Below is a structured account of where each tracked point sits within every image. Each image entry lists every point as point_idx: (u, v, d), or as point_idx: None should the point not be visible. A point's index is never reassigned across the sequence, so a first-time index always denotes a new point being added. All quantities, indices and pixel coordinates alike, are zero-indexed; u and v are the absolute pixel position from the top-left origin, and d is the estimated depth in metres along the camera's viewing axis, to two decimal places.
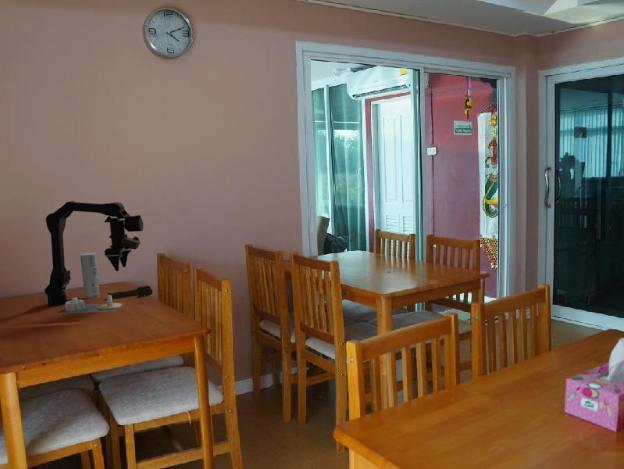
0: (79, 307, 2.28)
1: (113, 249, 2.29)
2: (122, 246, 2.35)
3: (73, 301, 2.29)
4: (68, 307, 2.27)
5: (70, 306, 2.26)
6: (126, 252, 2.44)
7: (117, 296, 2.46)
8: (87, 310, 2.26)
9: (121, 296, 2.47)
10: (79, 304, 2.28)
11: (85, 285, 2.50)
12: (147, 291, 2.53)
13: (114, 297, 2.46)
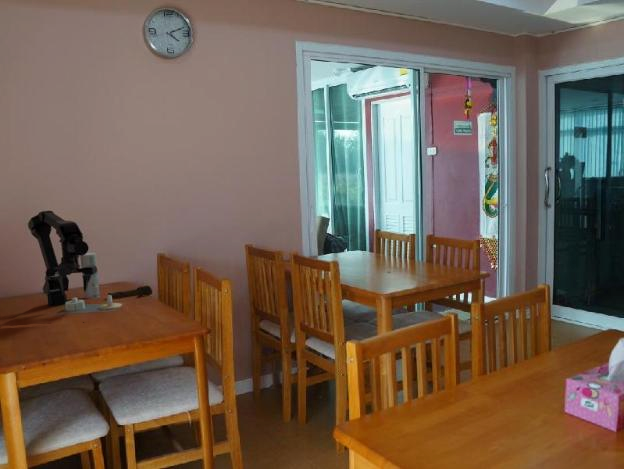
0: (79, 307, 2.28)
1: None
2: None
3: (73, 301, 2.29)
4: (68, 307, 2.27)
5: (70, 306, 2.26)
6: None
7: (117, 296, 2.46)
8: (87, 310, 2.26)
9: (121, 296, 2.47)
10: (79, 304, 2.28)
11: None
12: (147, 291, 2.53)
13: (114, 297, 2.46)
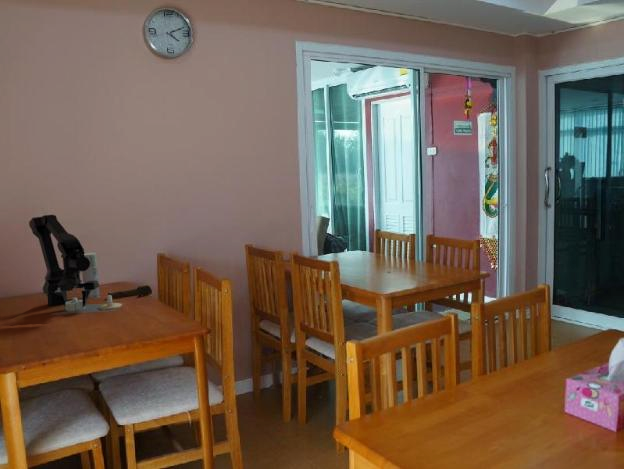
0: (79, 307, 2.28)
1: (49, 285, 2.28)
2: None
3: (73, 301, 2.29)
4: (68, 307, 2.27)
5: (70, 306, 2.26)
6: None
7: (117, 296, 2.46)
8: (87, 310, 2.26)
9: (121, 296, 2.47)
10: (79, 304, 2.28)
11: None
12: (146, 291, 2.54)
13: (114, 297, 2.46)
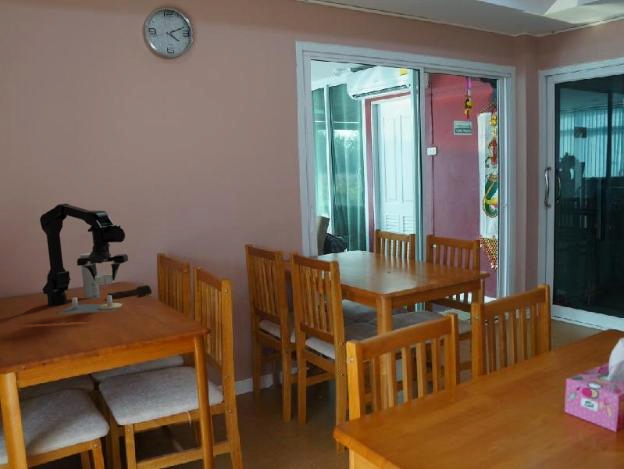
0: (109, 280, 2.26)
1: None
2: None
3: (73, 301, 2.29)
4: (98, 280, 2.25)
5: (100, 279, 2.25)
6: None
7: (117, 296, 2.46)
8: (87, 310, 2.26)
9: (121, 296, 2.47)
10: (109, 277, 2.26)
11: (85, 285, 2.50)
12: (146, 291, 2.54)
13: (114, 297, 2.45)
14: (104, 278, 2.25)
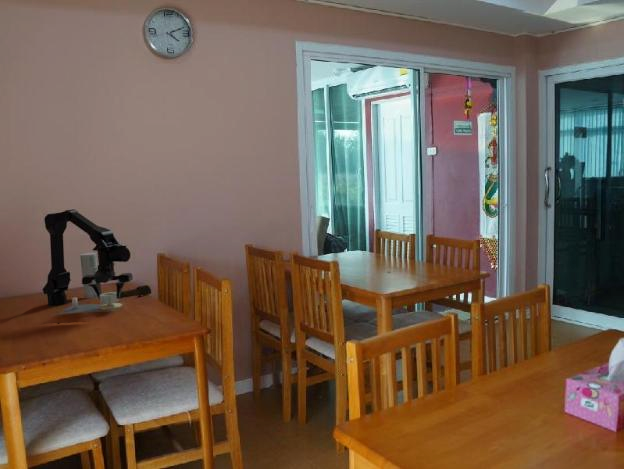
0: (113, 299, 2.28)
1: (83, 277, 2.28)
2: None
3: (73, 301, 2.29)
4: (102, 299, 2.27)
5: (105, 298, 2.26)
6: None
7: None
8: (87, 310, 2.26)
9: (121, 296, 2.47)
10: (113, 296, 2.27)
11: (85, 285, 2.50)
12: (146, 291, 2.54)
13: None
14: (109, 297, 2.26)
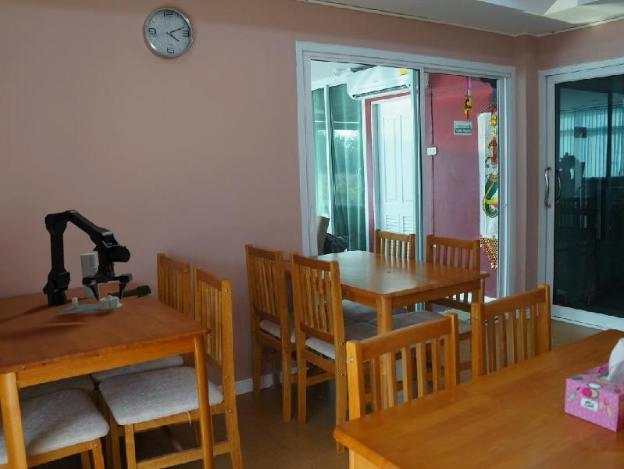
0: (114, 304, 2.28)
1: None
2: None
3: (73, 301, 2.29)
4: (103, 304, 2.27)
5: (105, 303, 2.26)
6: None
7: (117, 296, 2.46)
8: (87, 310, 2.26)
9: None
10: (114, 301, 2.28)
11: (85, 285, 2.50)
12: (146, 291, 2.54)
13: None
14: (109, 301, 2.27)
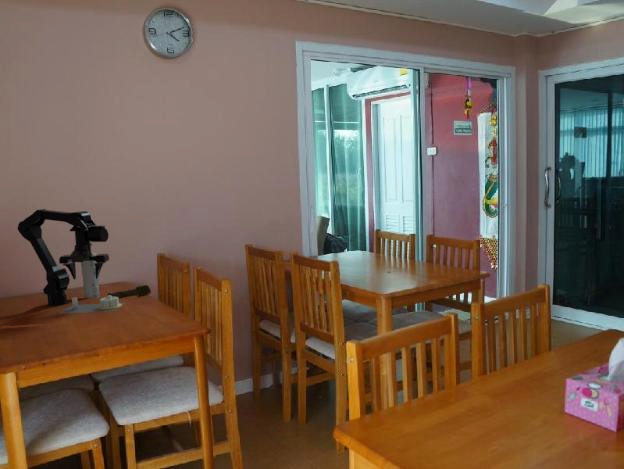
0: (114, 304, 2.28)
1: None
2: None
3: (73, 301, 2.29)
4: (103, 304, 2.27)
5: (105, 303, 2.26)
6: None
7: (118, 296, 2.46)
8: (87, 310, 2.26)
9: (121, 296, 2.47)
10: (114, 301, 2.28)
11: (85, 285, 2.50)
12: (146, 291, 2.55)
13: None
14: (109, 301, 2.27)
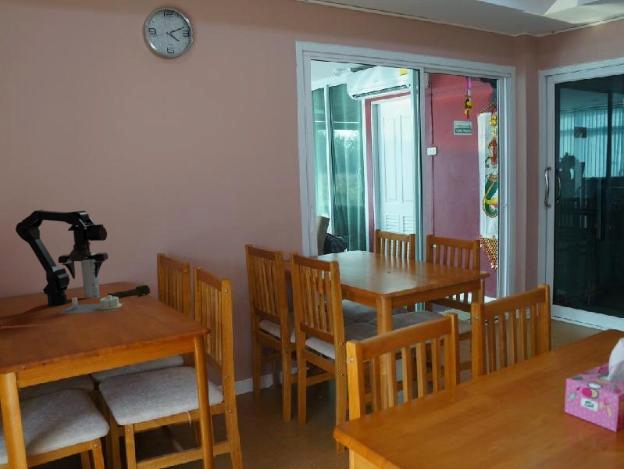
0: (114, 304, 2.28)
1: None
2: None
3: (73, 301, 2.29)
4: (103, 304, 2.27)
5: (105, 303, 2.26)
6: None
7: (118, 296, 2.46)
8: (87, 310, 2.26)
9: (121, 296, 2.47)
10: (114, 301, 2.28)
11: (85, 285, 2.50)
12: (145, 291, 2.55)
13: None
14: (109, 301, 2.27)
